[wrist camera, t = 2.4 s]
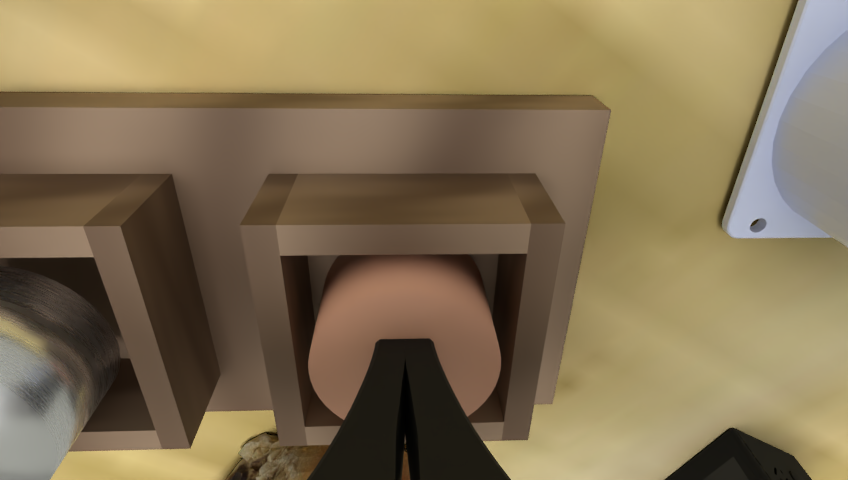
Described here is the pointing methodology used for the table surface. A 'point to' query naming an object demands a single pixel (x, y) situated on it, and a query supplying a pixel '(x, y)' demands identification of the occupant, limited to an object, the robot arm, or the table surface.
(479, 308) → the tan rounded piece
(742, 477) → the digital camera
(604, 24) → the table surface
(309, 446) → the bread roll
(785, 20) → the table surface
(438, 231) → the brown wooden tray
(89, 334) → the grey plunger
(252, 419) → the table surface
